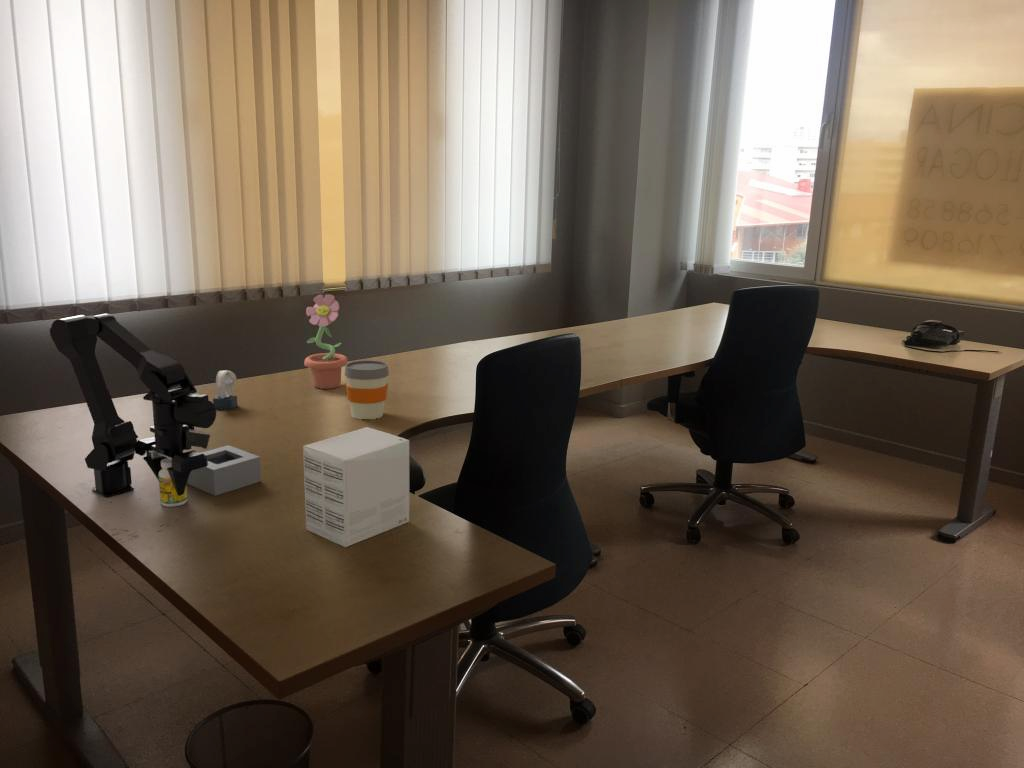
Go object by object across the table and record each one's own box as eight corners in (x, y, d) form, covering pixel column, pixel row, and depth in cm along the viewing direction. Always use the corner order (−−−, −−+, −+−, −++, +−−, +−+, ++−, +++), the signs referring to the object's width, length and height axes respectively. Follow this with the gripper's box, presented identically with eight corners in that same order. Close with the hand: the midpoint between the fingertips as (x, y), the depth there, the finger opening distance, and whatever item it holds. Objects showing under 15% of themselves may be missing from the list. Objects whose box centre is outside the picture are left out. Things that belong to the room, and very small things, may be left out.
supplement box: (368, 505, 189) (367, 425, 185) (411, 522, 181) (411, 439, 177) (303, 529, 176) (300, 444, 172) (346, 549, 168) (344, 460, 164)
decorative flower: (293, 389, 281) (290, 296, 273) (315, 379, 293) (312, 290, 286) (335, 393, 276) (333, 299, 269) (355, 383, 289) (354, 293, 282)
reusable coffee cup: (393, 410, 260) (393, 361, 257) (383, 422, 248) (382, 371, 244) (352, 408, 261) (351, 359, 258) (340, 420, 249) (338, 368, 246)
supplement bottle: (192, 501, 189) (190, 459, 186) (172, 509, 184) (169, 466, 182) (175, 496, 191) (172, 454, 189) (155, 503, 187) (151, 461, 184)
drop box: (215, 495, 192) (213, 470, 191) (184, 482, 199) (182, 457, 198) (260, 481, 201) (259, 456, 200) (229, 469, 208) (228, 445, 207)
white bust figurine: (239, 403, 262) (238, 368, 260) (229, 411, 255) (227, 374, 252) (221, 403, 263) (219, 367, 260) (210, 410, 255) (208, 373, 252)
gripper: (228, 422, 184) (231, 492, 188) (178, 405, 195) (183, 471, 199) (179, 434, 175) (184, 507, 179) (130, 415, 186) (136, 484, 190)
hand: (173, 491), depth 187 cm, fingers closed on supplement bottle, 5 cm apart
